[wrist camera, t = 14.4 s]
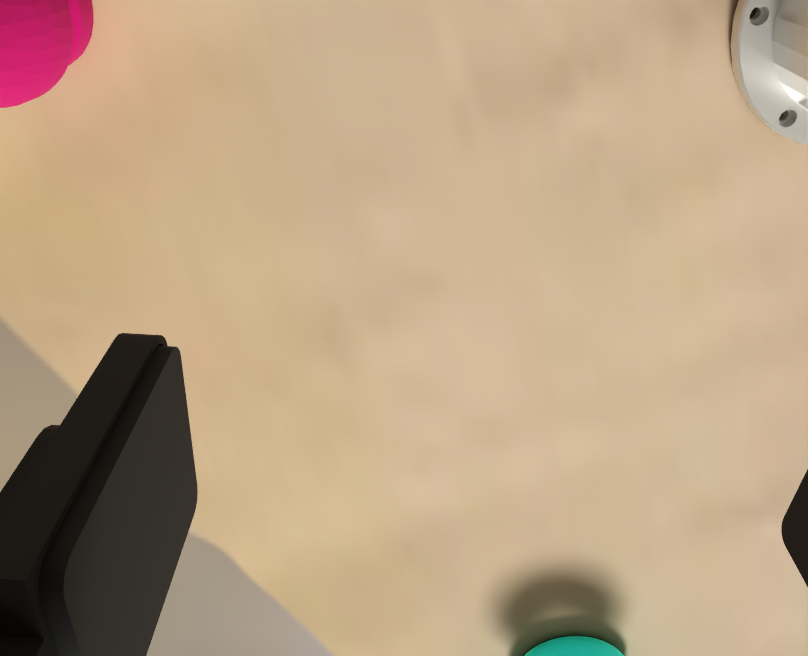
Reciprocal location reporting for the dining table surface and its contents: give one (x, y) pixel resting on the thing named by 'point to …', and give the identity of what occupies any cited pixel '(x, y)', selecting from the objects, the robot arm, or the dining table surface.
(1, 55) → the pepper mill
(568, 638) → the donuts
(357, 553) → the dining table surface
